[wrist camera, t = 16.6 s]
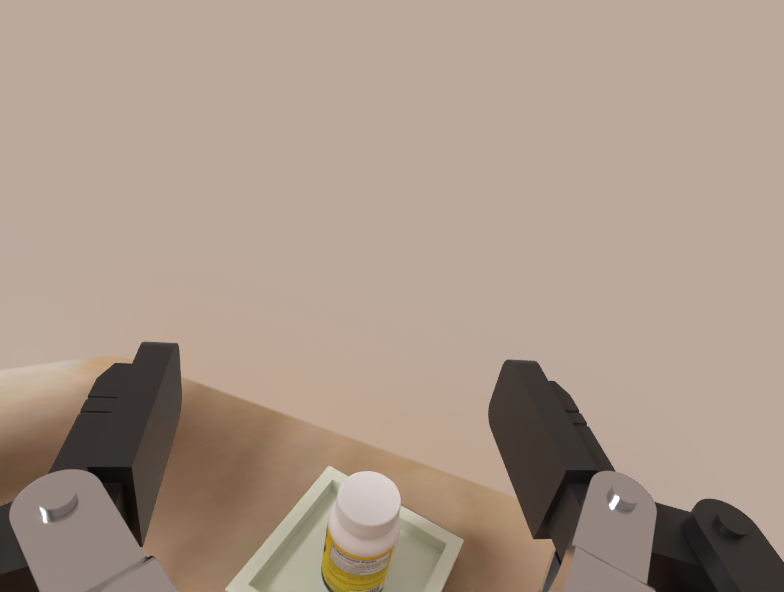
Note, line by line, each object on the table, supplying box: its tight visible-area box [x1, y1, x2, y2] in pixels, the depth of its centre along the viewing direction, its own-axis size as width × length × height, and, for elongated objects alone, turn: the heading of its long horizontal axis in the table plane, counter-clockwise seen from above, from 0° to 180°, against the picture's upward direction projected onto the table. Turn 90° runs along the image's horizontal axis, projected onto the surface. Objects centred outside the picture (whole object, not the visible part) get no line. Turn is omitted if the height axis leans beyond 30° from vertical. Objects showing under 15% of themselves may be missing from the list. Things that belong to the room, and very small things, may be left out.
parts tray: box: [225, 466, 464, 592], centre depth 37 cm, size 12×12×2 cm
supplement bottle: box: [321, 471, 401, 592], centre depth 35 cm, size 5×5×8 cm
